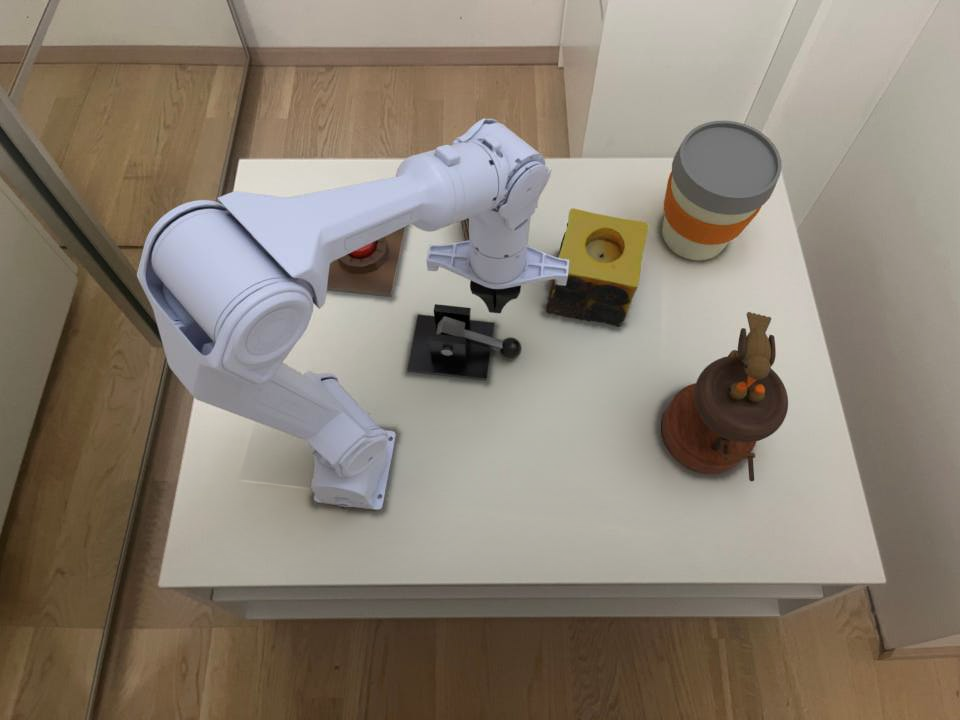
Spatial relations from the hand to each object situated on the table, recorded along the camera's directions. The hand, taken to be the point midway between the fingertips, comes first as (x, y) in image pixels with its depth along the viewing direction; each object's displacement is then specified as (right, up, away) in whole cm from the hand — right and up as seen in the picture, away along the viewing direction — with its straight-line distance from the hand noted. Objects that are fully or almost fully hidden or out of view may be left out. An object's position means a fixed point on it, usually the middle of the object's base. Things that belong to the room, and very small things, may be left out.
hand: (495, 305), depth 76 cm
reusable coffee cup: (+28, +11, +17) cm, 35 cm away
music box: (+25, -16, +4) cm, 30 cm away
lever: (-2, -4, +7) cm, 8 cm away
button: (-18, +9, +13) cm, 24 cm away
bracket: (-5, -5, +9) cm, 12 cm away
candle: (+13, +3, +13) cm, 18 cm away
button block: (-18, +8, +15) cm, 25 cm away
